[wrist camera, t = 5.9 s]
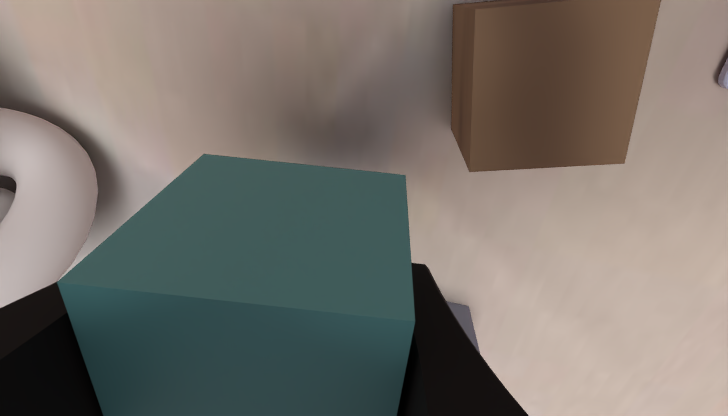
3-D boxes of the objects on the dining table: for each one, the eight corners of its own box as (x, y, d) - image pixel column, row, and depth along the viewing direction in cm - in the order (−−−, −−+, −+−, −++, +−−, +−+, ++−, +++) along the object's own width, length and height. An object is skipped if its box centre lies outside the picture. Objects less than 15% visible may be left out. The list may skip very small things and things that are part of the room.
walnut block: (586, -9, 15) (662, -8, 11) (566, 120, 18) (624, 163, 13) (452, 4, 16) (475, 9, 12) (451, 128, 18) (469, 171, 14)
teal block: (405, 175, 10) (415, 321, 6) (383, 325, 12) (377, 510, 8) (204, 154, 10) (56, 282, 6) (220, 307, 12) (126, 481, 8)
